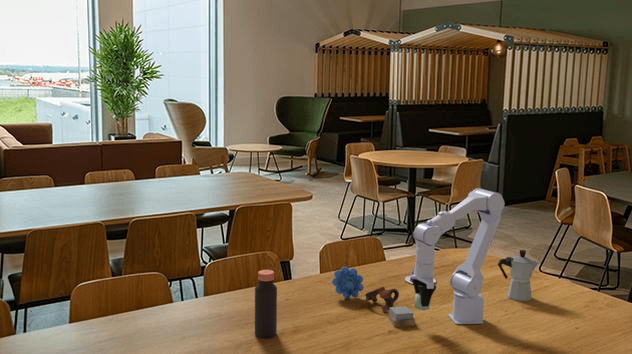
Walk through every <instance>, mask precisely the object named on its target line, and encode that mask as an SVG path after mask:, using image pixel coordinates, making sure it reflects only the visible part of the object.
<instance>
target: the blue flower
mask: <svg viewBox="0 0 632 354" xmlns="http://www.w3.org/2000/svg"><path fill="white" fill-rule="evenodd" d="M363 281H364V278H363V276H362V275H360V274H358V270H357V269H356V268H353V267H352V268H350V269H349V267H348V266H342V267H341V269H340V270H338V269H336V270H335V271H334V278H332V280H331V282H332V285H333V286H334V287H335V292H336V294H337V295H342V297H344V299H350V298H351V297H352V298H357V297H359V294H360V293H359V292H363V290H364V285H363V284H362V283H363Z"/></svg>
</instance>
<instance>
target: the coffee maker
mask: <svg viewBox="0 0 632 354" xmlns="http://www.w3.org/2000/svg"><path fill="white" fill-rule="evenodd" d="M526 254H527V250H525V249H520V250H519V256H507V257H505V258H500V259H499V261H498V262H497V266H498V267H499V269H500V271H501V273H502V275H503V277H504V279H505V280H506V279H508V277H509V276H508V275H507V273H506V271H505V270H504V268H503V266H502V265H505V266H507V267H509V268H510V277H511V279H510V283H509V288H508V291H507V295H506V297H507V298H508V300H512V301H515V302H517V303H518V302H519V303H520V302H521V303H527V302H530V301H532V300H533V299H532V298H533V297H532V288H531V287H532V286H531V281H530V279H531V278H532V276H533V272H534V270H535V269H536V268H537V266H538V265H539V264H540V263H541V262H540V261H537V260H534V259H532V258H531V257H529V256H528V257H527V256H526Z"/></svg>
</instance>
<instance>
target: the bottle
mask: <svg viewBox="0 0 632 354" xmlns="http://www.w3.org/2000/svg"><path fill="white" fill-rule="evenodd" d="M257 281H258V282H259V283H257V285H255V287H254V335H255V336H256V337H258V338H261V339H262V338H263V339H267V338H268V339H270V338H273V337H274V336H276V335H277V334H278V333H277V325H278V324H277V323H278V322H277V321H278V319H277V318H278V317H277V316H278V315H277V314H278V313H277V312H278V310H277V309H278V302H277V301H278V286H277V285H276V284H274V281H275V271H274V270H271V269H262V270H259V271H258V272H257Z"/></svg>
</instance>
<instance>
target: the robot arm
mask: <svg viewBox="0 0 632 354" xmlns="http://www.w3.org/2000/svg"><path fill="white" fill-rule="evenodd" d="M505 204H506V203H505V200H504V198H503V195H502V194H501V193H499V192H495V191H491V190H486V189H483V188H481V187H477V188H475V189H473V190H472V191H470V192H469V193H468V195H467V197H465V198H464V199H463V200H462V201H461V202H459V203H458V204H457V205H456V206H454V207H452V209H451V210H449V211H447V210H445V211H444V210H443V211H439V212H437V215H435V216H434V217H433V218H430V219H428V220H427V221H426V222H425V223H419V224H418V225H417V226H416V227H415V228H414V231H413V232H412V236H413V239H414V241H415V243H414V244H415V245H416V246H415V260H414V261H415V263H414V265H415V266H414V268H413V269H414V275H412V274H411V277H412V278H411V280H412V281H411V282H413V288H414V295H415V294H417V293H420V297H421V305H422V307H425V306H429V303H430V304H431V298H432V296H433V294H434V293H435V291H436V290H437V286H436V285H435V283H434V282H433V279H435V278H434V277H435V276H434V262H435V249H436V248H435V245H436V243H438V242H439V239H440V237H441V236H442V235H443V234H444V233H446V232H448V231H449V230H450V229H452V228H454V227H455V224H456V221H457V220H459V219H460V218H462V217H464V216H466V215H467V214H469V213H471V212H473V211H477V213H479V216H480V218H481V220H480V223H479V226H478V227H477V231H476V233H475V235H474V238H473V241H472V242H471V244H470V245H471V246H470V248H469V250H468V253H467V255H466V257H465V260H464V262H463V263H462V264H460V265H458V266H457V267H456V268H455V271H454V272H453V273H452V274H451V276H450V278H449V285H450V287H451V288H452V292H453V304H452V313H448V317H449V318H450V319H451V320H452V322H453V323H454V324H456V325H474V324H476V325H477V324H478V325H479V324H480V325H481V324H484V310H485V307H484V306H485V305H484V304H485V303H484V302H485V301H484V297H483V295H482V294H481V291H482V289H483V281H484V275H483V273H482V270H481V268H482V266H483V264H484V261H485V258H486V256H487V254H488V251H489V248H490V246H491V244H492V241H493V238H494V236H495V234H496V231H497V229H498V227H499V225H500V222H501V216H502V212H503V209H504V208H505Z"/></svg>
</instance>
